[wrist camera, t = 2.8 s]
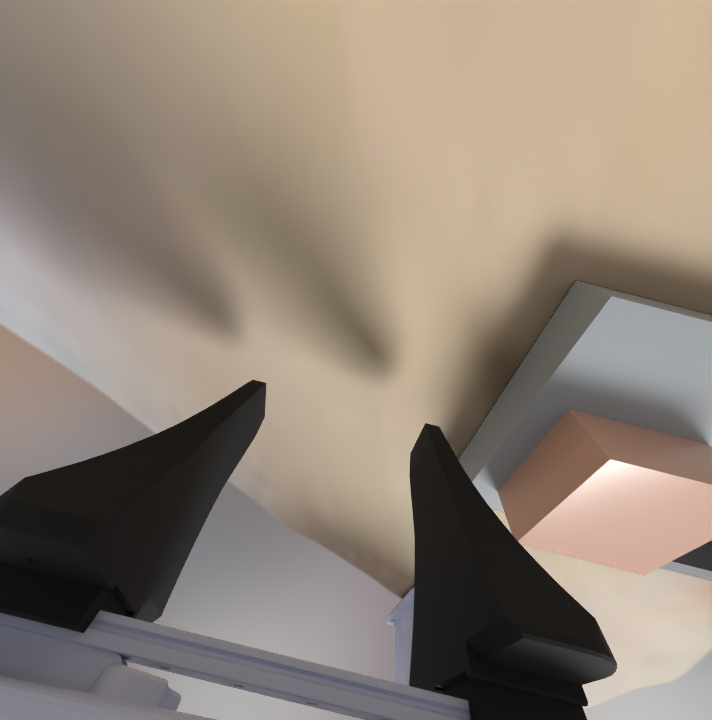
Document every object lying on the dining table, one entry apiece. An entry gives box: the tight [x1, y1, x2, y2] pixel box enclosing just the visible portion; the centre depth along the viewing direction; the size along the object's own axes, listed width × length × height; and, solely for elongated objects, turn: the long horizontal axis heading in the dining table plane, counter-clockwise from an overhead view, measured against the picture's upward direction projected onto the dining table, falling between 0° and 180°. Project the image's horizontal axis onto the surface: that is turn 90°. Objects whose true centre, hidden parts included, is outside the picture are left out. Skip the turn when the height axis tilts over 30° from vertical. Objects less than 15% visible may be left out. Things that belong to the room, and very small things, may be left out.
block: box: [498, 409, 712, 575], centre depth 12 cm, size 6×6×2 cm
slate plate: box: [458, 281, 712, 512], centre depth 13 cm, size 12×10×2 cm
